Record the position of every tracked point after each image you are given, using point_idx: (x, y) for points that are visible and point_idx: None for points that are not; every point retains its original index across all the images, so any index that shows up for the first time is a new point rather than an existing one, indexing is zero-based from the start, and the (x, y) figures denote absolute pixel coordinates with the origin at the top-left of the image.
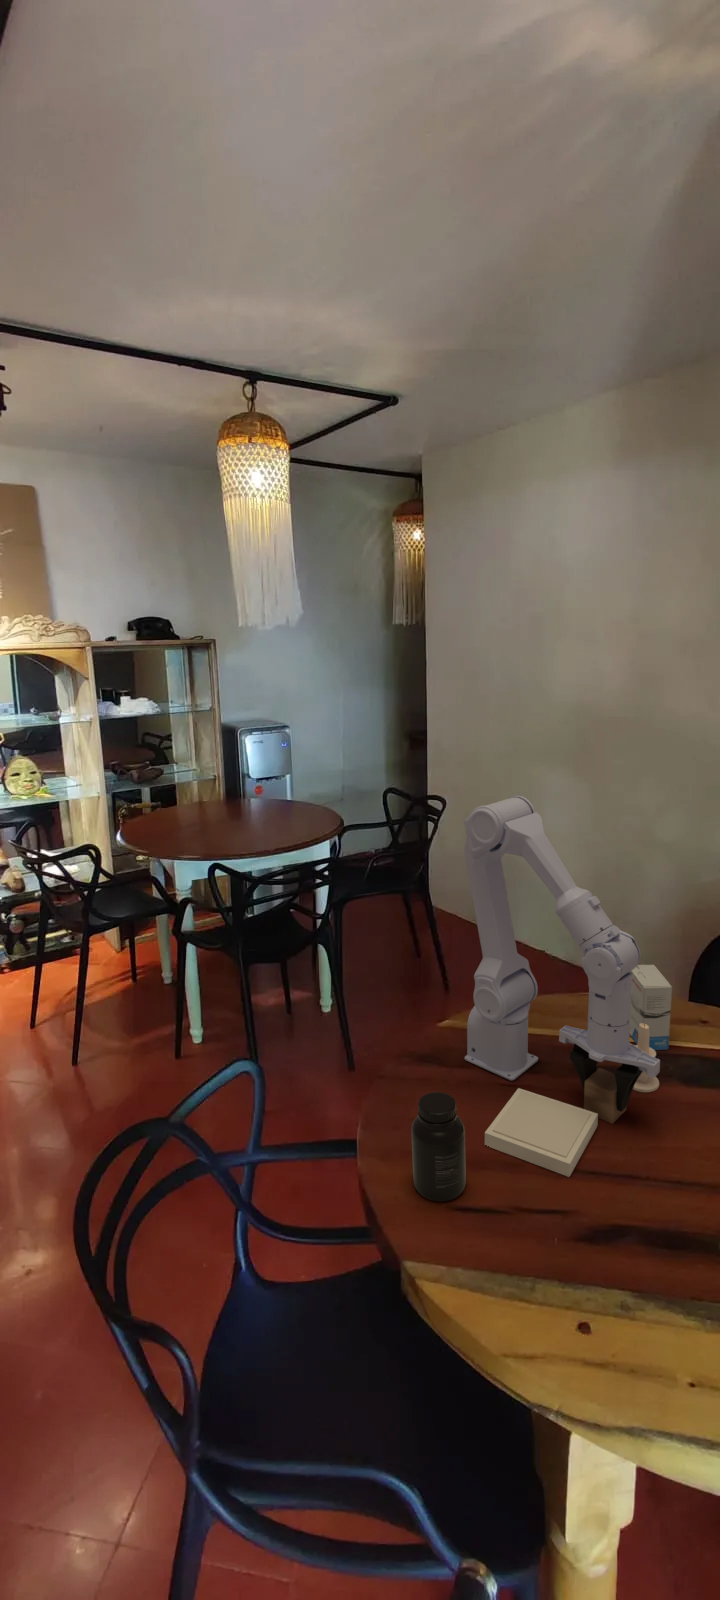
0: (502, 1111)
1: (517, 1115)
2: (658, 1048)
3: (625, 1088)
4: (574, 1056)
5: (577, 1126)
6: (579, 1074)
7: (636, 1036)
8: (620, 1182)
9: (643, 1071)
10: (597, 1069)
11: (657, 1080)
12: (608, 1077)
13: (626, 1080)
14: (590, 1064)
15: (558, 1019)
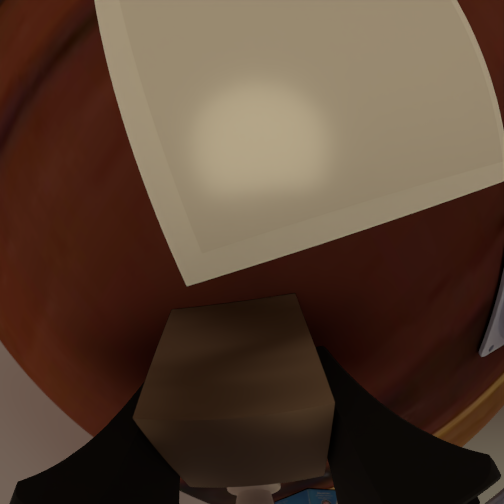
0: (462, 16)
1: (423, 2)
2: (285, 500)
3: (74, 456)
4: (472, 499)
5: (175, 97)
6: (384, 413)
7: (326, 501)
8: (7, 98)
9: (240, 489)
10: (324, 469)
11: None
12: (251, 471)
13: (20, 492)
14: (350, 493)
15: (453, 436)
